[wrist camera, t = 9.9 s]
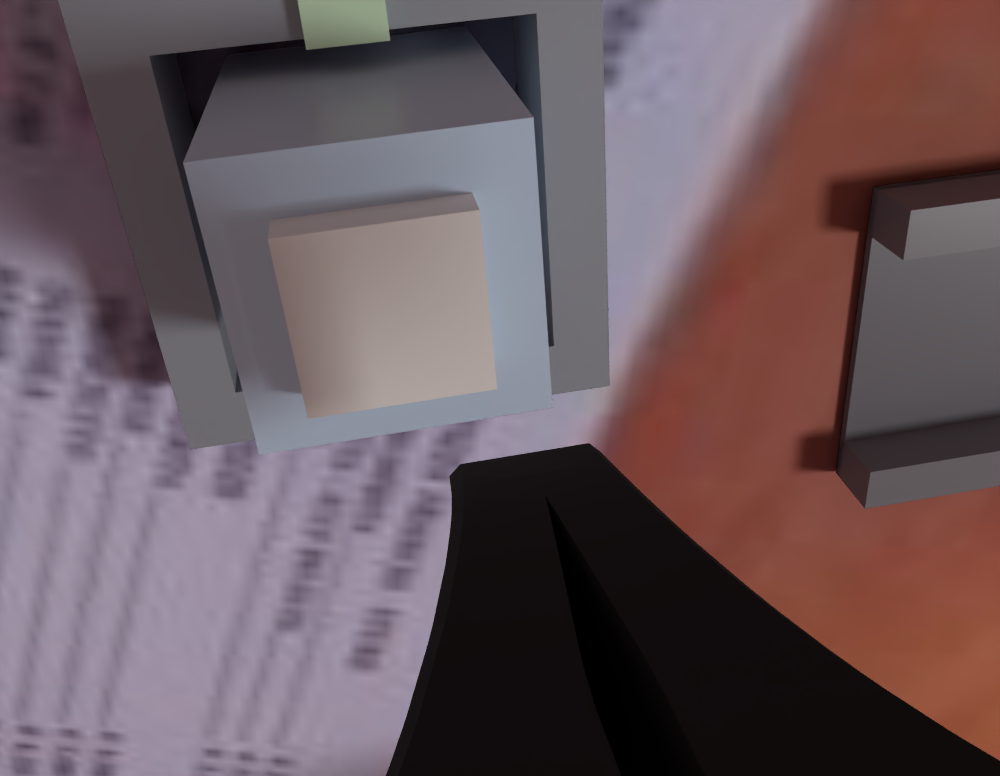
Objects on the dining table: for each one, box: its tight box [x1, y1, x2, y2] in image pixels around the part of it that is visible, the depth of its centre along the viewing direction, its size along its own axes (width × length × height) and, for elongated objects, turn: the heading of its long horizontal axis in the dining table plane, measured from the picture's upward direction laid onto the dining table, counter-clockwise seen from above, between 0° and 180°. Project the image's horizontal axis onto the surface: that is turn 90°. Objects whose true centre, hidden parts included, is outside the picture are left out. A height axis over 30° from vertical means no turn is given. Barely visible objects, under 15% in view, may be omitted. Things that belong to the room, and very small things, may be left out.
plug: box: [183, 26, 553, 455], centre depth 14 cm, size 4×4×7 cm
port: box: [58, 0, 610, 449], centre depth 16 cm, size 8×8×2 cm
